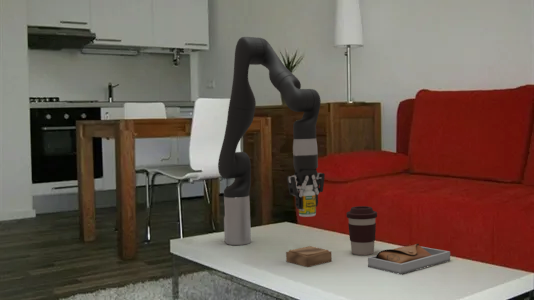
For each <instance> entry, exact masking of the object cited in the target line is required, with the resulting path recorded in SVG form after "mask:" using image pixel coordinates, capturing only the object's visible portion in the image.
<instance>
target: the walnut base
mask: <svg viewBox="0 0 534 300" xmlns="http://www.w3.org/2000/svg"><path fill="white" fill-rule="evenodd" d="M285 254H286V255H285V257H286V260H285V261H286V262H287V263H291V264H294V265H298V266H301V267H307V268H310V267H313V266H317V265H321V264H322V265H323V264H327V263H330V262H333V261H332V259H333V258H332V257H333V256H332V251H329V249H324V248H321V247H316V246H310V245H309V246H308V245H307V246H304V247H299V248H293V249H290V250H288V251H285Z"/></svg>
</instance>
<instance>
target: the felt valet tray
mask: <svg viewBox="0 0 534 300" xmlns="http://www.w3.org/2000/svg"><path fill="white" fill-rule="evenodd" d="M421 247H422V248H423V249H425V250H426V251H427V252H429V253H430V254H431V255H432V256H428V257H424V258H420V259H417V260H413V261H409V262H405V263H402V264H400V263H395V262H390V261H386V260H381V259H376V256H377V254H375V255H372V256H368V257H367V267H368V268H371V269H376V270H381V271H384V270H385V272H388V271H390V272H389V273H393V272H394V273H393V274H397V273H399V274H398V275H401V274H402V275H404V274H403V273H405V274H407V273H406V272H409V271H412V272H414V271H413V270H416V269H419V270H421V269H420V268H423V269H425V268H424V267H426V268H428V267H427V266H430V267H432V266H431V265H434V266H436V265H435V264H437V265H439V263H441V264H444V263H447V261H448V262H450V261H451V251H449V250H444V249H439V248H438V249H437V248H430V247H427V246H426V247H425V246H421ZM443 262H444V263H443ZM416 271H417V270H416ZM409 273H410V272H409Z"/></svg>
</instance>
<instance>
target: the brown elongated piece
mask: <svg viewBox="0 0 534 300" xmlns="http://www.w3.org/2000/svg"><path fill="white" fill-rule="evenodd" d="M422 247H423V246H420V244H419V243H416V244H412V245H406V246H402V247H397V248H390V249H389V248H388V249H383V250H380V251H378V253H377V254H376V255H377V256H376V255H375V256H376V259H381V260H386V261H390V262H395V263H400V264H402V263H405V262H409V261H413V260H417V259H420V258H424V257H428V256H432V255H431V254H430V253H429V252H427V251H426V250H425V249H423V248H422Z"/></svg>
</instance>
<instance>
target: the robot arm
mask: <svg viewBox="0 0 534 300" xmlns="http://www.w3.org/2000/svg"><path fill="white" fill-rule="evenodd" d="M233 63H234V64H233V77H232V86H231V92H230V99H229V104H228V109H227V119H226V124H225V132H224V137H223V141H222V144H221V149H220V152H219V155H218V162H217V168H218V173H219V175H220V177H221V178H222V179H223V178H224V179H234V181H233V182H232V183H231V184H230V185H228V186H227V187H225V188H224V190H223V201H224V203H223V204H224V216H223V229H224V230H223V231H224V233H223V234H224V243H225V244H226V245H230V246H242V245H249V244H251V243H252V234H251V233H252V229H251V228H252V227H251V226H252V225H251V203H250V190H251V186H252V185H251V184H252V181H251V180H252V179H251V178H252V177H251V176H252V175H251V174H252V173H251V172H252V171H251V170H252V165H251V159H250V156H249V155H248V153H247V152H245V151H237V148H238V146H239V145H238V144H240V143H239V142H240V141H241V139H243V136H244V135H245V134H246V133H247V131H248V130H249V128H250V127H251V125H252V124H253V121H254V118H255V112H256V104H257V103H256V97H255V95H254V92H253V90H252V87H251V85H250V82H249V69H250V65H255V66H257V65H262V66H263V67H264V68H266V69H267V70H268V77H269V81H270V83H271V84H272V86H273V87H274V88H275V89H276V90H277V91H278V92H279V93H280V94H281V95H282V98H283V101H284V103H285V104H286V106H287V108H288V109H289V110H291V111H293V112H295V113H303V114H302V117H301V118H299V119H297V120H295V121H294V122H293V125H292V127H293V128H292V129H293V131H292V133H293V134H292V135H293V142H292V151H293V152H292V153H293V154H292V155H293V156H292V157H293V160H292V162H293V168H294V174H293V175H291V176H290V175H288V176H287V177H286V181H287V187H288V191H289V195H290V196H293V197H294V198H295V207H296V209H297V210H299V209H303V197H302V194H303V191H304V190H305V187H306V185H313V189H312V191H314V192H315V199H316V208H317V207H318V205H319V195H320V194H319V193H323V191H324V185H325V175H326V173H324V172H323V173H322V172H318V171H317V169H318V167H319V160H318V159H319V157H318V143H317V122H318V119H319V113H320V109H321V104H322V103H321V97H320V94H319V92H318V91H317V90H316V89H315V88H301V87H302V84H301V82H300V79H299V78H298V77H297V76H295V75H294V74H293V73H292V72H291V70H289V69H288V68H287V67H286V66H285V64H284V63H283V61H282V60H281V59H280V58H279V56H278V54H277V53H276V51H275V50H274V49H273V47H272V46H271V44H270V43H269V42H268V41H267V39H265V38H263V37H254V36H252V37H251V36H242V37H240V38H239V39H238V40H237V42H236V45H235V50H234V61H233ZM300 186H301V187H300Z"/></svg>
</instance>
